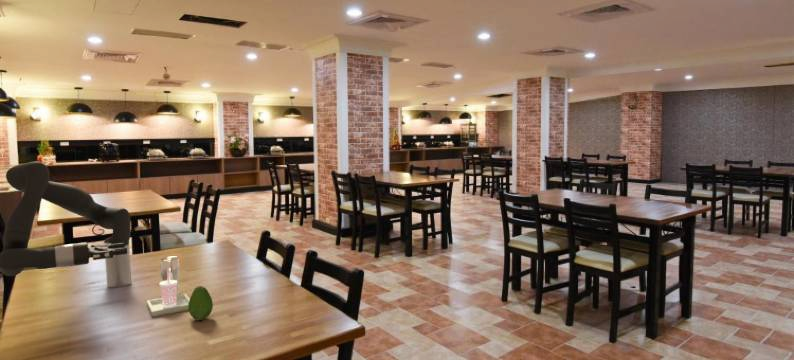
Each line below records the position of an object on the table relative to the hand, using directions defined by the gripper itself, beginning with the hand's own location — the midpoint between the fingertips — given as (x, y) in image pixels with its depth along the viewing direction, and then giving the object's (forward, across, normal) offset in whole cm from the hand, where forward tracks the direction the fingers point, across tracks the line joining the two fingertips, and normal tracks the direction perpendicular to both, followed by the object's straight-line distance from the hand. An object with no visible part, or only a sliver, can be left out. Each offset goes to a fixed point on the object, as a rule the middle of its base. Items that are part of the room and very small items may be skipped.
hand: (125, 248), depth 177 cm
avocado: (+20, -22, +24) cm, 38 cm away
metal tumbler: (+16, +12, +24) cm, 31 cm away
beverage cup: (+13, -3, +23) cm, 27 cm away
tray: (+13, -3, +24) cm, 27 cm away
